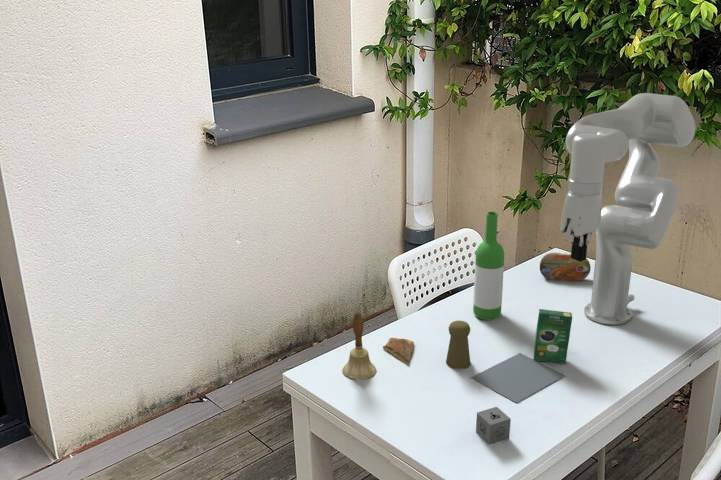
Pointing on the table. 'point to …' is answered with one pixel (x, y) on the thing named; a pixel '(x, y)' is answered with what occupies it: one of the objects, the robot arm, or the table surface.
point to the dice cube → (493, 425)
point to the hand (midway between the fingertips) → (578, 259)
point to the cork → (458, 345)
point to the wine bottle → (489, 273)
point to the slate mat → (518, 377)
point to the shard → (400, 348)
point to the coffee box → (552, 336)
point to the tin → (563, 267)
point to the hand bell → (358, 355)
